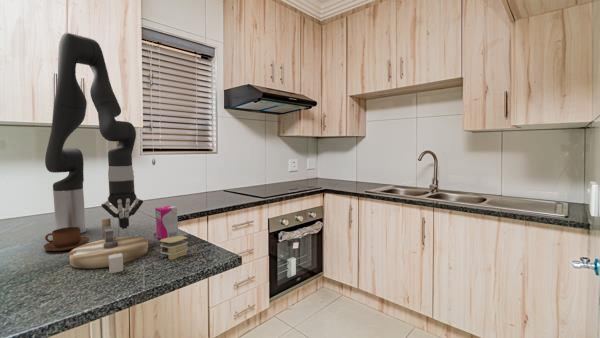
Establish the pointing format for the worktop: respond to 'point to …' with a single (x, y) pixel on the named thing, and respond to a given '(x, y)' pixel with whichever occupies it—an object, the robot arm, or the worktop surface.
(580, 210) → the worktop surface
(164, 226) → the supplement box
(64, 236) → the cup and saucer
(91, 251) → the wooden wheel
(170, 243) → the beige layered block
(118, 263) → the white block
